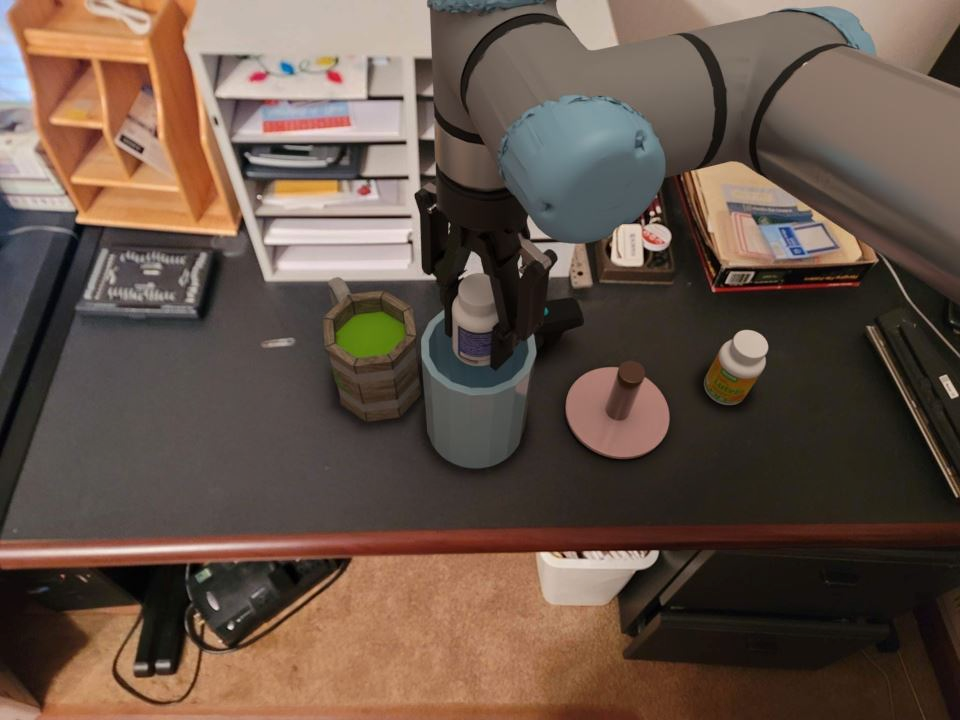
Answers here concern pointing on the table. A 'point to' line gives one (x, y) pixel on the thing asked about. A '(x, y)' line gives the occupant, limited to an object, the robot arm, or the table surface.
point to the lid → (617, 411)
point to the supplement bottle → (736, 367)
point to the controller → (557, 323)
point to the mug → (372, 352)
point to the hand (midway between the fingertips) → (478, 343)
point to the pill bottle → (474, 320)
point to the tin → (474, 400)
